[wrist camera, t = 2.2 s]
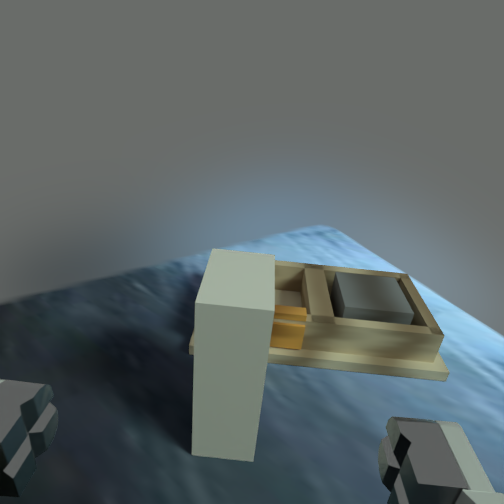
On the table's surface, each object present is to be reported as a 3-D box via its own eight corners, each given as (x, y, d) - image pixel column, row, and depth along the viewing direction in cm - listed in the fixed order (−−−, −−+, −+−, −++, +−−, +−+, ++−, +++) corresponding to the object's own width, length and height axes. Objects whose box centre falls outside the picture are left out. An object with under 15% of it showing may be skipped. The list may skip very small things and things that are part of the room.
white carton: (191, 454, 25) (194, 302, 19) (206, 383, 30) (211, 248, 24) (254, 461, 25) (275, 311, 19) (257, 389, 30) (275, 254, 24)
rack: (188, 354, 33) (189, 310, 30) (210, 280, 43) (211, 244, 41) (445, 381, 32) (464, 339, 30) (403, 300, 43) (415, 265, 41)
